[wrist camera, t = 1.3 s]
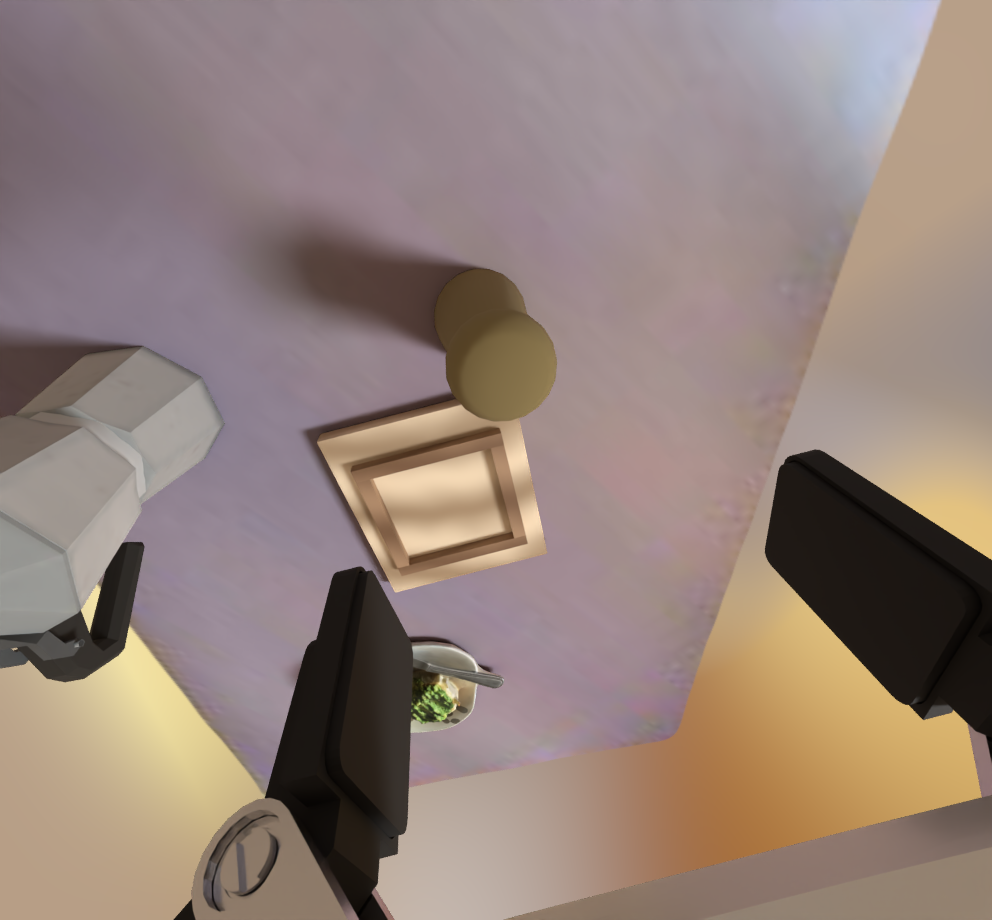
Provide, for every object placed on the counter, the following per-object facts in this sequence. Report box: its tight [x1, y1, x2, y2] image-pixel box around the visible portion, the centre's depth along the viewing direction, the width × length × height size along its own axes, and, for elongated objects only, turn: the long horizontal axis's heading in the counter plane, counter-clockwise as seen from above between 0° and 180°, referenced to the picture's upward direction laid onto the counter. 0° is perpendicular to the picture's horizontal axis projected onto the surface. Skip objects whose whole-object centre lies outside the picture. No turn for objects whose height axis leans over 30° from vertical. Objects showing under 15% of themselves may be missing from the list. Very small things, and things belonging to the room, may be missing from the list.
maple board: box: [317, 399, 547, 592], centre depth 34 cm, size 16×14×2 cm
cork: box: [434, 269, 557, 422], centre depth 23 cm, size 6×6×11 cm
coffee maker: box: [0, 346, 225, 682], centre depth 21 cm, size 15×9×18 cm, turn 6°
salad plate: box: [411, 641, 504, 733], centre depth 46 cm, size 19×18×5 cm
